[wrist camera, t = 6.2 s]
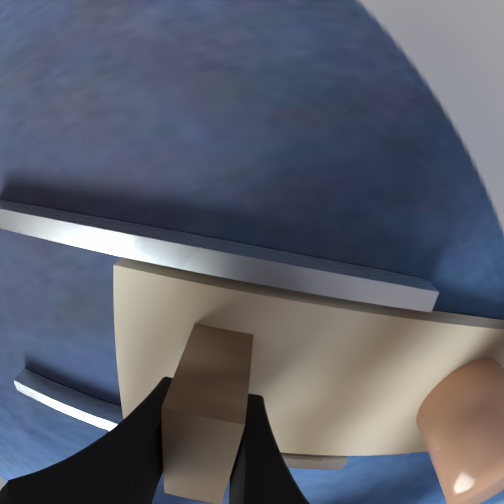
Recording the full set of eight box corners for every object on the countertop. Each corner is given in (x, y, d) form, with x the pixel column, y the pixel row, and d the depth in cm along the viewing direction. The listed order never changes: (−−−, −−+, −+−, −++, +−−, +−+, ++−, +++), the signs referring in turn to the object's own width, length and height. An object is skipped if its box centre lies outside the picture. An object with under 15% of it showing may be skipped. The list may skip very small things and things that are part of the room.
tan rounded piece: (517, 358, 11) (568, 421, 6) (469, 430, 12) (501, 495, 7) (448, 357, 11) (504, 444, 6) (398, 437, 12) (425, 519, 7)
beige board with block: (530, 323, 11) (585, 377, 6) (461, 434, 14) (489, 493, 9) (125, 255, 11) (45, 324, 6) (130, 406, 13) (93, 484, 9)
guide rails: (425, 278, 11) (439, 292, 10) (339, 452, 14) (342, 469, 13) (-2, 199, 11) (-20, 205, 9) (27, 378, 14) (17, 390, 13)
